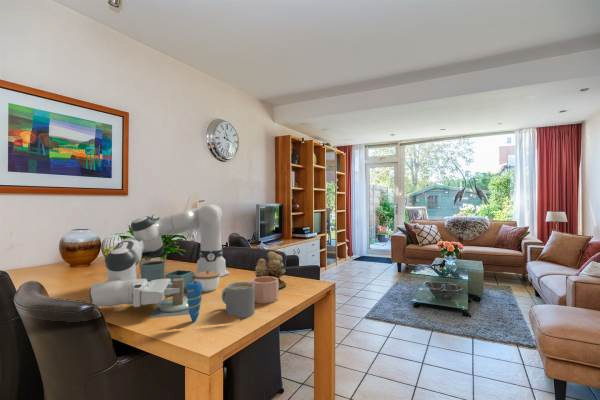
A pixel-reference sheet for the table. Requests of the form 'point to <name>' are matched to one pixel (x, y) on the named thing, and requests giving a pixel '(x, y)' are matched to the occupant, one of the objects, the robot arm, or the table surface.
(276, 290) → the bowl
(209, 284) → the lidded jar
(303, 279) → the table surface
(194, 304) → the ornament
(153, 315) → the mat
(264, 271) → the brown rock sculpture
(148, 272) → the blue-grey tapered cup
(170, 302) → the lid
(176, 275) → the flower pot
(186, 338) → the table surface
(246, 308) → the coffee mug
